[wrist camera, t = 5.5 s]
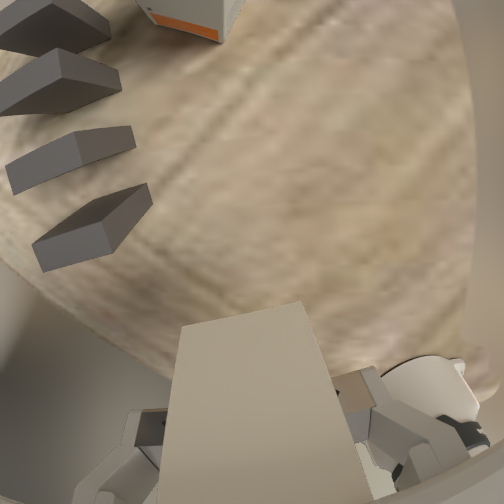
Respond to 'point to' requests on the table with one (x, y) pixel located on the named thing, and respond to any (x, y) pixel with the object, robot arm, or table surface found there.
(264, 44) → the table surface
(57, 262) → the domino
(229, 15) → the skincare box
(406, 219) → the table surface
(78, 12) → the domino
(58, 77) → the domino
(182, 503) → the domino
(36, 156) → the domino
